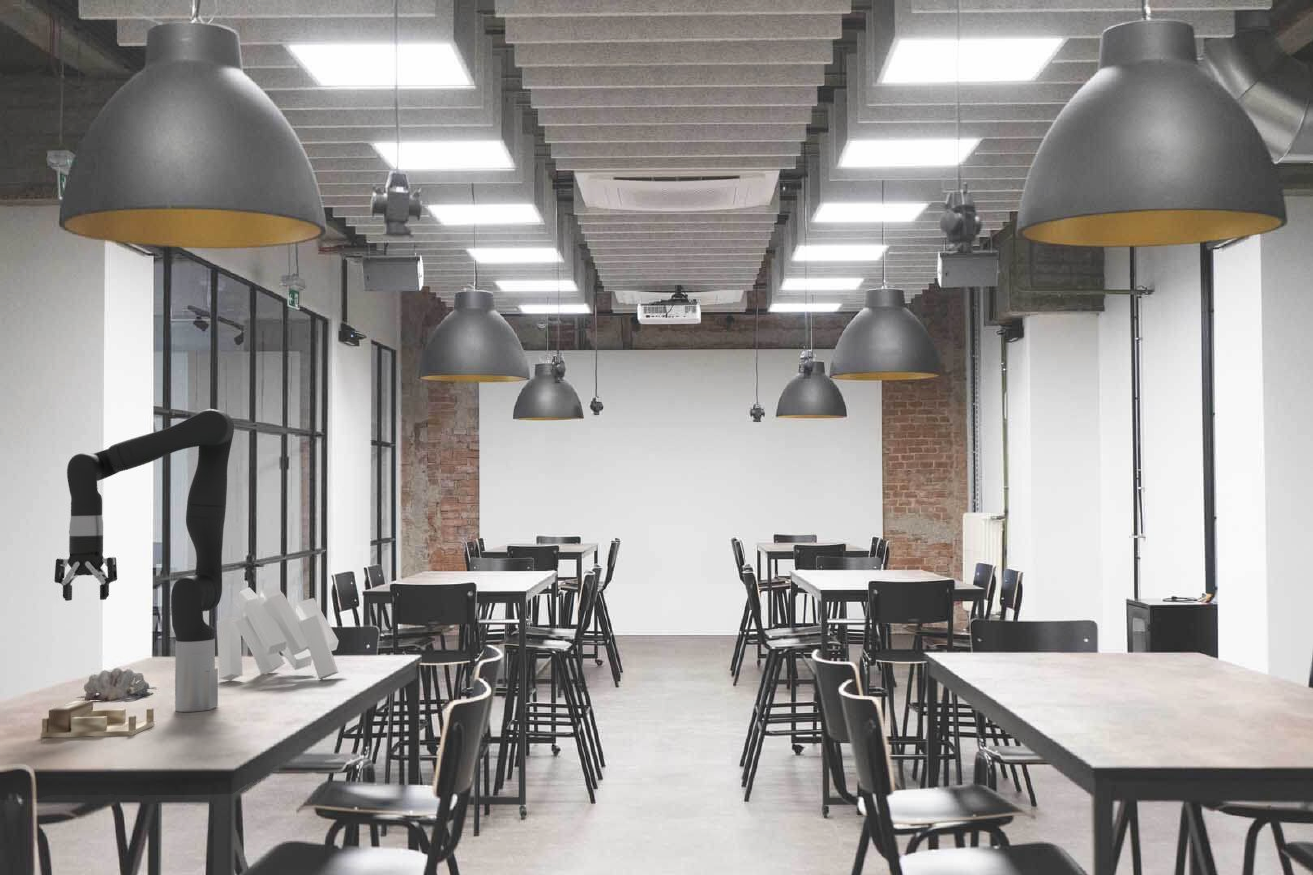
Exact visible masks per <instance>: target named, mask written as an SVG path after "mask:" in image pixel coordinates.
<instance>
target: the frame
mask: <svg viewBox="0 0 1313 875" xmlns="http://www.w3.org/2000/svg"><path fill="white" fill-rule="evenodd" d="M92 710H94V703H93V701H83V700H74V701H70V702H68V703H66V704H63V705H59V706H57V707H54V708H52V709H48V718H49V733H68V732H70V731H71V718H74V717H91V711H92Z"/></svg>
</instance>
